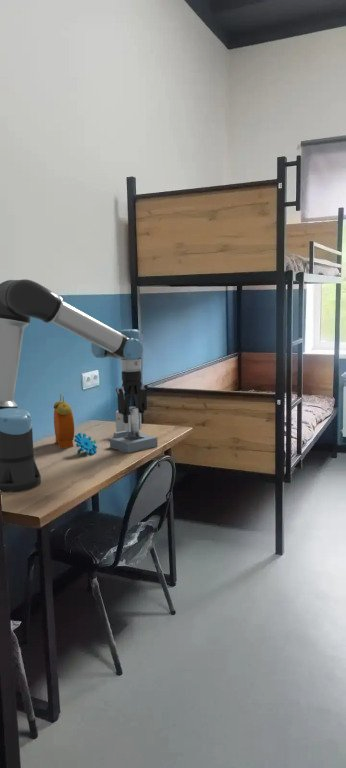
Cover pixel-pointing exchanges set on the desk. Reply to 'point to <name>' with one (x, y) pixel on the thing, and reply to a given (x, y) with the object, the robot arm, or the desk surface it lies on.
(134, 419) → the bushing
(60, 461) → the desk surface
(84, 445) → the gear
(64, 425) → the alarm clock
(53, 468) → the desk surface
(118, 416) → the small box
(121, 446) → the frame
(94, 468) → the desk surface
